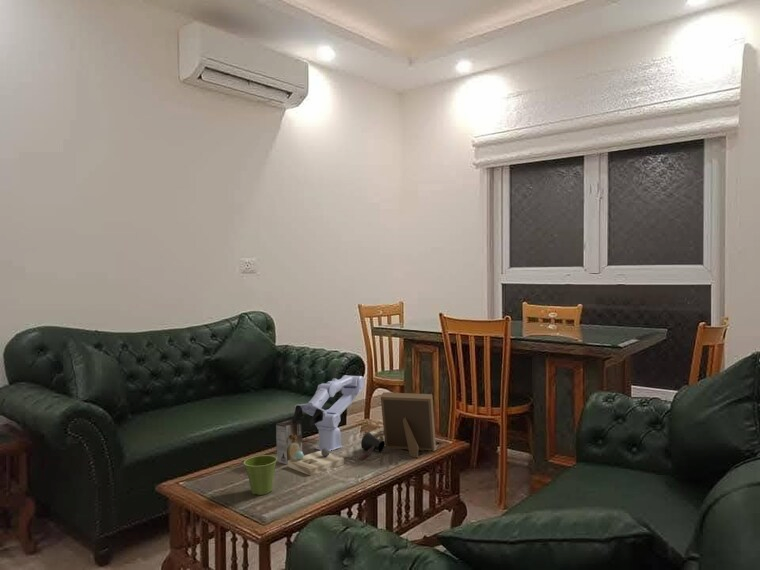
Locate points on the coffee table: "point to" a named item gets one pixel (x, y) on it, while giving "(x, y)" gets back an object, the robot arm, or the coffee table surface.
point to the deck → (315, 463)
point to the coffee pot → (370, 445)
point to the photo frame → (408, 421)
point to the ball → (325, 452)
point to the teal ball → (299, 455)
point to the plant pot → (261, 473)
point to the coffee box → (288, 440)
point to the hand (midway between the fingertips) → (301, 423)
